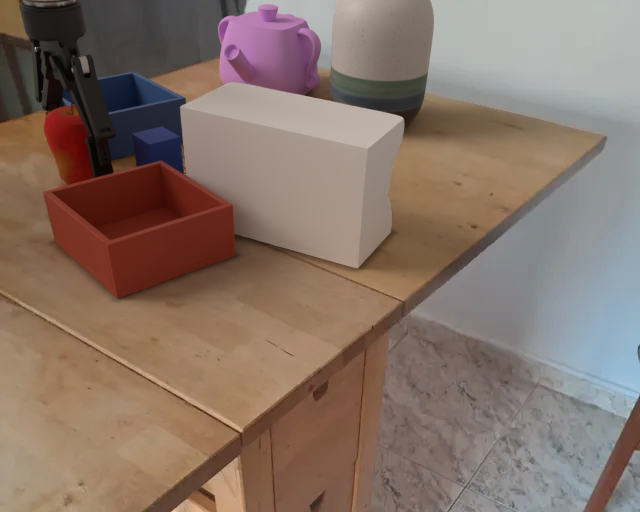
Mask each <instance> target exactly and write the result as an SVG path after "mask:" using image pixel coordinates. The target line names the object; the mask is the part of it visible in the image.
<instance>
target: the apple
mask: <svg viewBox="0 0 640 512" xmlns="http://www.w3.org/2000/svg"><path fill="white" fill-rule="evenodd" d="M42 128H43V133H44V136H45V139H46V143H47V146H48V148H49V149H50V152H51V154H52V156H53V159H54V160H55V164H56V167H57V171H58V174H59V177H60V179H61V180H62V181H64V183H66V185H70V184H74V183H77V182H81V181H85V180H89V179H93V178H94V177H93V172H92V167H91V162H90V157H89V152H88V147H87V144H86V143H85V139H86V138H87V137H88V134H87V132H86V130H85V127H84V125H83V123H82V121H81V118H80V116H79V114H78V111H77V109H76V107H75V105H73V101H72V100H71V106H64V107H59V108H57V109H55V110H53V111H51V112H49V113H48V114H47V115H46V114H45V117H44V122H43V127H42Z"/></svg>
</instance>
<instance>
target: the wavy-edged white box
mask: <svg viewBox="0 0 640 512" xmlns="http://www.w3.org/2000/svg"><path fill="white" fill-rule="evenodd" d="M180 113H181V125H182V135H183V142H182V143H183V154H184V165H185V176H187V177H189V178H190V179H192V180H193V181H195V182H197V183H198V184H200V185H201V186H203V187H205V188H206V189H208V190H209V191H211V192H212V193H214V194H216V195H217V196H219V197H220V198H222V199H224V200H225V201H227V202H228V203H230V204H232V205H233V218H234V235H237V236H240V237H244V238H247V239H252V240H254V241H258V242H261V243H264V244H265V243H266V244H267V245H268V244H269V245H271V246H275V247H280V248H283V249H286V250H290V251H293V252H297V253H300V254H302V255H303V254H304V255H307V256H311V257H315V258H318V259H321V260H325V261H329V262H332V263H335V264H338V265H343V266H346V267H349V268H353V269H356V270H357V269H359V267H361V266H362V264H363V263H364V262H365V261H367V259H368V258H369V257H370V256H371V254H373V253H374V251H375V250H376V249H377V248H378V247H379V246H380V245H381V244H382V243H383V241H384V240H385V239H386V238H387V237H388V236H389V235H390V234H391V232H392V227H393V226H392V225H393V211H392V210H393V209H392V205H391V199H390V197H389V192H390V187H391V181H392V173H393V169H394V165H395V160H396V157H397V155H398V153H399V150H400V147H401V144H402V141H403V137H404V132H405V125H404V119H403V118H402V117H401V116H398V115H394V114H390V113H386V112H381V111H376V110H371V109H366V108H361V107H356V106H351V105H346V104H342V103H337V102H333V101H331V100H328V99H327V100H326V99H322V98H317V97H312V96H307V95H299V94H293V93H288V92H283V91H278V90H273V89H268V88H264V87H259V86H254V85H249V84H243V83H235V82H232V83H226V84H224V85H223V84H222V85H220V86H219V87H217V88H214V89H213V90H211V91H208V92H206V93H205V94H203V95H200V96H198V97H197V98H194V99H192V100H190V101H188V102H186V104H184V105H182V106H180Z"/></svg>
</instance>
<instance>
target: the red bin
mask: <svg viewBox="0 0 640 512" xmlns="http://www.w3.org/2000/svg"><path fill="white" fill-rule="evenodd" d="M42 195H43V200H44V203H45V208H46V212H47V215H48V218H49V223H50V227H51V232H52V235H53V240H54V243H55V244H56V245H57V246H58V247H59V248H61V249H62V250H63V251H64V252H65V253H66V254H68V255H69V256H70V258H72V259H73V260H74V261H75V262H76V263H77V264H79V265H80V266H81V267H82V268H83V269H84V270H85V271H86V272H88V273H89V274H90V275H91V276H92V277H93V278H94V279H95V280H96V281H97V282H99V284H101V285H102V286H103V287H104V288H105V289H107V290H108V291H109V292H110V293H111V294H112V295H113V296H114V297H115V298H117V299H120V298H122V297H125V296H128V295H131V294H135V293H138V292H140V291H143V290H145V289H148V288H151V287H153V286H156V285H159V284H161V283H165V282H168V281H169V280H172V279H175V278H178V277H181V276H184V275H186V274H189V273H192V272H194V271H197V270H199V269H202V268H205V267H208V266H211V265H214V264H217V263H219V262H222V261H225V260H227V259H230V258H232V257H233V258H234V257H236V256H237V255H236V239H235V237H236V236H235V234H234V218H233V205H232V204H230V203H228V202H227V201H225V200H224V199H222V198H220V197H219V196H217V195H216V194H214V193H212V192H211V191H209V190H208V189H206V188H205V187H203V186H201V185H200V184H198V183H197V182H195V181H193V180H192V179H190V178H189V177H187V176H186V174H185V173H184V174H182V173H181V172H179V171H177V170H176V169H174V168H173V167H171V166H169V165H168V164H166V163H164V162H163V161H162V160H161V161H157V162H153V163H150V164H146V165H142V166H138V167H136V166H134V167H131V168H127V169H124V170H120V171H116V172H113V173H112V174H108V175H104V176H100V177H96V178H93V179H89V180H85V181H81V182H77V183H74V184H70V185H68V184H66V185H62V186H59V187H55V188H50V189H47V190H43V191H42Z"/></svg>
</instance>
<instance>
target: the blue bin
mask: <svg viewBox="0 0 640 512" xmlns="http://www.w3.org/2000/svg"><path fill="white" fill-rule="evenodd" d="M97 79H98V82H99V85H100V88H101V91H102V94H103V97H104V101H105V104H106V107H107V110H108V113H109V116H110V119H111V122H112V125H113V128H114V131H115V135H116V137H115V138H112V139H108V144H109V150H110V155H111V161H114V160H118V159H123V158H126V157H130V156H135V153H134V147H133V140H132V133H136V132H140V131H145V130H149V129H153V128H157V127H164V128H166V129H167V130H169V131H171V132H173V133H174V134H176V135H178V136H180V140H181V144H182V143H183V135H182V125H181V113H180V106H182V105H184V104H186V103H187V97H185V96H183V95H181V94H179V93H177V92H175V91H173V90H171V89H169V88H168V87H165V86H163V85H161V84H159V83H158V82H156V81H153V80H152V79H149V78H148V77H145V76H144V75H142V74H140V73H138V72H136V71H129V72H124V73H119V74H114V75H108V76H103V77H97ZM71 100H72V98H71V95H70V93H69V92H67V91H65V90H64V91H63V101H64V103H65V105H66V106H71ZM72 101H73V100H72ZM73 105H74V102H73Z"/></svg>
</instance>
